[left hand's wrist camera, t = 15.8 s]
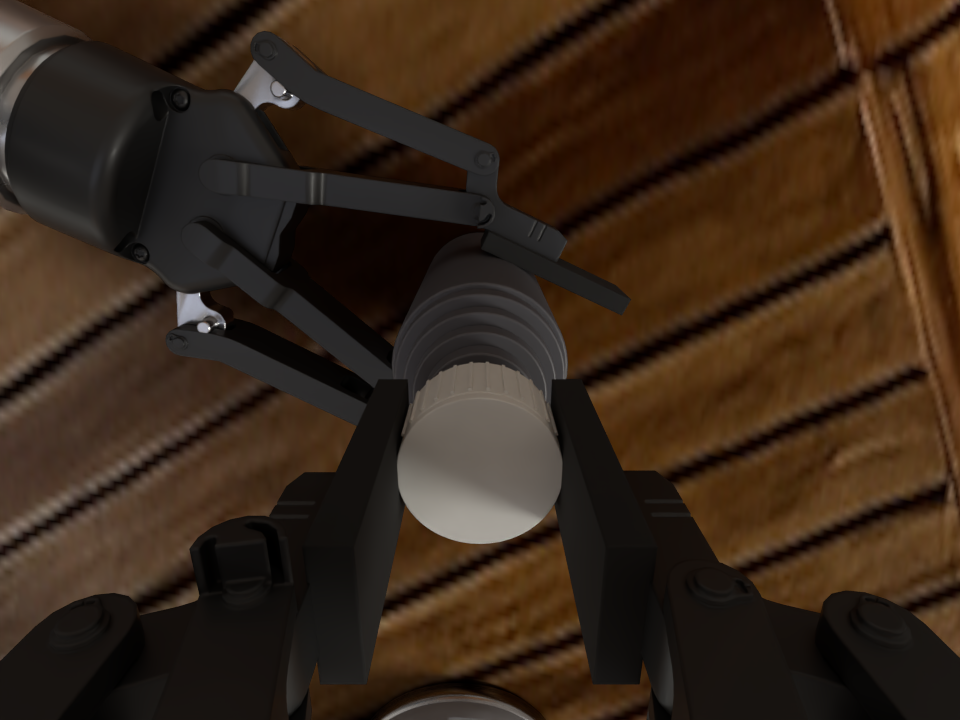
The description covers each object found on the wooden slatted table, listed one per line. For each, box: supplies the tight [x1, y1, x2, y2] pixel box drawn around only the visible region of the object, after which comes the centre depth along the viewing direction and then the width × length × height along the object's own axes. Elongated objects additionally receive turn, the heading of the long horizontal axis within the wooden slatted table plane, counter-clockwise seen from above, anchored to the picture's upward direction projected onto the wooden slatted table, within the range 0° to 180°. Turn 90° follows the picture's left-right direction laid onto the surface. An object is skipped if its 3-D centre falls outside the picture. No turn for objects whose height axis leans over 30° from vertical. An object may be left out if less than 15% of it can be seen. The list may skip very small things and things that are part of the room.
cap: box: [397, 362, 563, 544], centre depth 13 cm, size 4×4×2 cm
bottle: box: [392, 232, 568, 407], centre depth 22 cm, size 6×6×19 cm
